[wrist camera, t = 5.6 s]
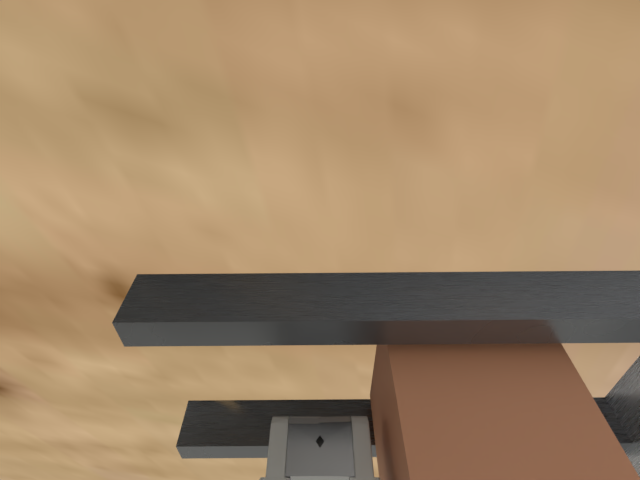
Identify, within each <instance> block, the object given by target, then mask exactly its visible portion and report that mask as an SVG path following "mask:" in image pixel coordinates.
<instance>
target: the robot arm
mask: <svg viewBox="0 0 640 480" xmlns="http://www.w3.org/2000/svg"><path fill="white" fill-rule="evenodd" d="M259 480H381V479H380V478H379V477H374V469H373V459H372V449H371V439H370V429H369V421H368V418H367V416H351V417H350V416H340V417H298V416H290V417H289V416H285V417H272V421H271V427H270V437H269V447H268V457H267V467H266V477H261V478H260V479H259Z"/></svg>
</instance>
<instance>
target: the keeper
mask: <svg viewBox="0 0 640 480" xmlns="http://www.w3.org/2000/svg"><path fill="white" fill-rule="evenodd" d="M370 401H371V410H372V419H373V428H374V437H375V446H376V454H377V463H378V472H379V478H380V479H381V480H640V477H639V476H638V474H637V472H636V470H635V469H634V467H633V465H632V464H631V462H630V460H629V458H628V457H627V455H626V453H625V452H624V450H623V448H622V446H621V445H620V443H619V441H618V440H617V438H616V436H615V435H614V433H613V431H612V429H611V428H610V426H609V424H608V423H607V421H606V419H605V417H604V416H603V414H602V412H601V411H600V409H599V407H598V405H597V404H596V402H595V400H594V399H593V397H592V395H591V393H590V392H589V390H588V388H587V387H586V385H585V383H584V382H583V380H582V378H581V376H580V375H579V373H578V371H577V370H576V368H575V366H574V364H573V363H572V361H571V359H570V358H569V356H568V354H567V352H566V351H565V349H564V347H563V346H562V344H561V343H539V344H407V345H377V346H376V353H375V361H374V368H373V375H372V383H371V390H370Z"/></svg>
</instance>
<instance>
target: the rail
mask: <svg viewBox="0 0 640 480" xmlns="http://www.w3.org/2000/svg"><path fill="white" fill-rule="evenodd" d="M112 324H113V326H114V328H115V330H116V332H117V333H118V335H119V337H120V339H121V341H122V343H123V345H124V347H143V346H275V345H407V344H539V343H640V270H638V271H503V272H368V273H234V274H137V275H136V277H135V279H134V281H133V283H132V285H131V287H130V289H129V291H128V293H127V295H126V297H125V299H124V301H123V302H122V304H121V306H120V308H119V310H118V312H117V314H116V316H115V318H114V320H113V322H112ZM593 399H594V400H595V402H596V404H597V405H598V407H599V409H600V411H601V412H602V414H603V416H604V417H605V419H606V421H607V423H608V424H609V426H610V428H611V429H612V431H613V433H614V435H615V436H616V438H617V440H618V441H619V443H620V445H621V446H622V448H623V450H624V452H625V453H626V455H627V457H628V458H629V460H630V462H631V464H632V465H633V467H634V469H635V470H636V472H637V474H638V476H639V477H640V356H639V357H638V358H637V359H636V361H635V362H634V363H633V364H632V365H631V367H630V368H629V369H628V370H627V371H626V373H625V374H624V375H623V376H622V377H621V379H620V380H619V381H618V382H617V383H616V385H615V386H614V387H613V388H612V389H611V390H610V392H609V393H608V394H607V395H606V396H605V397H593ZM285 416H289V417H290V416H298V417H340V416H350V417H351V416H367V418H368V421H369V429H370V439H371V449H372V457H377V454H376V446H375V437H374V428H373V419H372V410H371V401H370V399H324V400H193V401H188V404H187V408H186V411H185V415H184V419H183V422H182V426H181V430H180V433H179V437H178V441H177V444H176V448H177V450H178V452H179V454H180V456H181V458H182V459H190V458H267V457H268V447H269V437H270V427H271V421H272V417H285Z"/></svg>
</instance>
